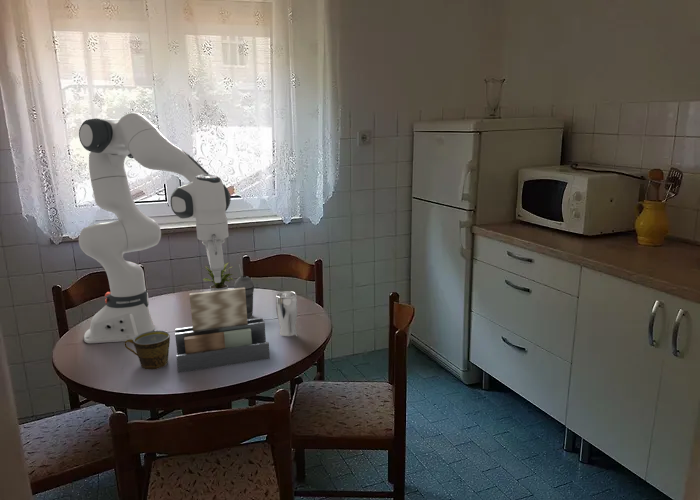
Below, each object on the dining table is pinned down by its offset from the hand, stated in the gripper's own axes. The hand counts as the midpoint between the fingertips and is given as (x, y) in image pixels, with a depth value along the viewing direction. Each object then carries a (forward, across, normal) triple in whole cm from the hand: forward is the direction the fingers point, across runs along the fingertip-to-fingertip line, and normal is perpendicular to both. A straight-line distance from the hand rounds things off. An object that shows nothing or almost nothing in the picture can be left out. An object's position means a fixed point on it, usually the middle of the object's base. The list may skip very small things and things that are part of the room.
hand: (216, 277), depth 153 cm
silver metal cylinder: (+26, +9, -22) cm, 35 cm away
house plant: (+25, +54, -2) cm, 60 cm away
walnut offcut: (+24, -6, +5) cm, 25 cm away
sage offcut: (+24, -3, -4) cm, 25 cm away
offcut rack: (+26, -2, 0) cm, 26 cm away
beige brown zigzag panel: (+24, 0, 0) cm, 24 cm away
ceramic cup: (+26, 0, +21) cm, 33 cm away
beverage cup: (+26, +33, -11) cm, 43 cm away
